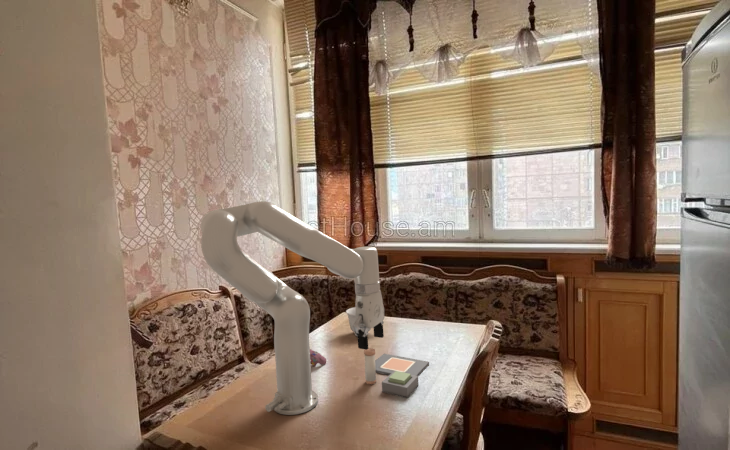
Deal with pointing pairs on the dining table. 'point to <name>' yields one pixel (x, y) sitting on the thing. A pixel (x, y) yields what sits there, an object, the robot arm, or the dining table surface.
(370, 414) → the dining table surface
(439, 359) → the dining table surface
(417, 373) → the picture board
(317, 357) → the video game controller
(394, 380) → the button
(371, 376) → the marker
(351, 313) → the teacup
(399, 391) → the button housing
